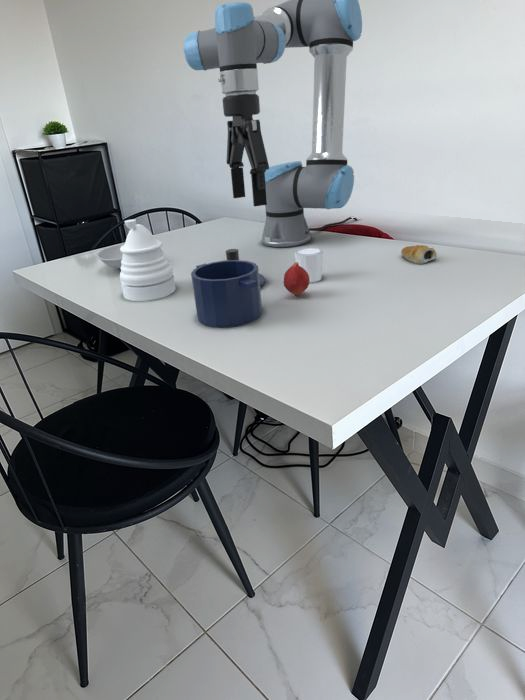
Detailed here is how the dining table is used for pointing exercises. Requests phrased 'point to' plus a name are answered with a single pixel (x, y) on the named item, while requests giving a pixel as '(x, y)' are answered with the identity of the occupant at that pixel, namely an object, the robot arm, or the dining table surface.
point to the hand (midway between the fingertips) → (249, 201)
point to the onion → (296, 279)
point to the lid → (234, 255)
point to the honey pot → (144, 266)
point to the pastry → (419, 254)
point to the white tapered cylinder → (311, 262)
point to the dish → (111, 256)
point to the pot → (227, 293)
